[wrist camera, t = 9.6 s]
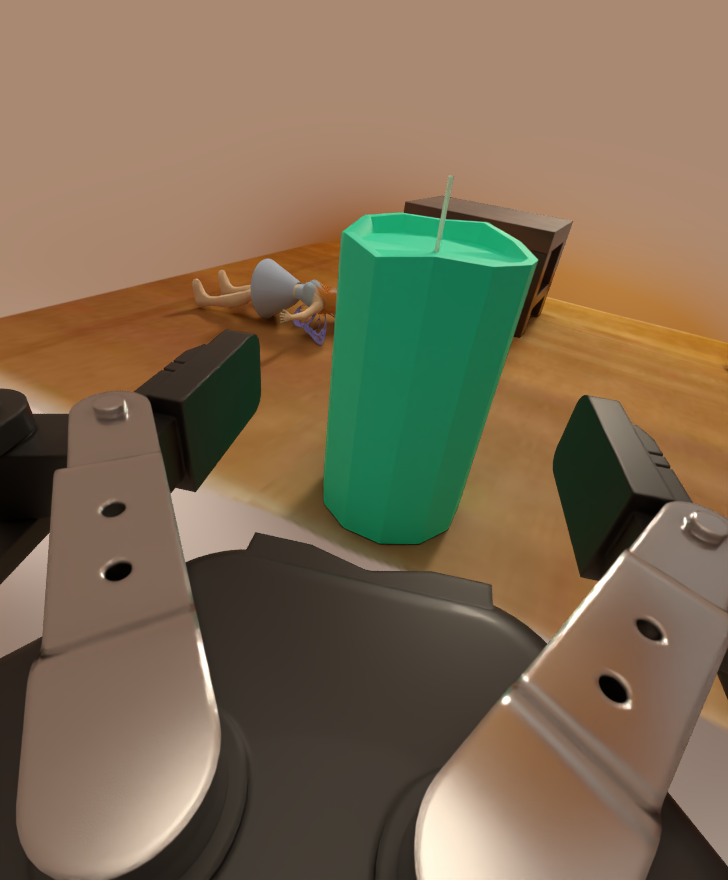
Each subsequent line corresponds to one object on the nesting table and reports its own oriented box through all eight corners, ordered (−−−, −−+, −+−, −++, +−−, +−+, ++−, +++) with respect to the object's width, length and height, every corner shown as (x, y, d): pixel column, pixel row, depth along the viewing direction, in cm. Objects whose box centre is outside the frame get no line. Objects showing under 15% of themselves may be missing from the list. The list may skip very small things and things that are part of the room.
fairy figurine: (246, 241, 38) (379, 251, 34) (254, 298, 40) (378, 312, 37) (146, 270, 29) (310, 288, 25) (164, 340, 31) (315, 366, 28)
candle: (379, 435, 23) (423, 162, 16) (482, 494, 20) (591, 192, 13) (291, 489, 19) (297, 156, 12) (404, 573, 16) (500, 199, 9)
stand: (540, 313, 42) (573, 220, 37) (520, 337, 36) (555, 232, 31) (426, 281, 46) (442, 195, 42) (390, 299, 40) (405, 201, 36)
